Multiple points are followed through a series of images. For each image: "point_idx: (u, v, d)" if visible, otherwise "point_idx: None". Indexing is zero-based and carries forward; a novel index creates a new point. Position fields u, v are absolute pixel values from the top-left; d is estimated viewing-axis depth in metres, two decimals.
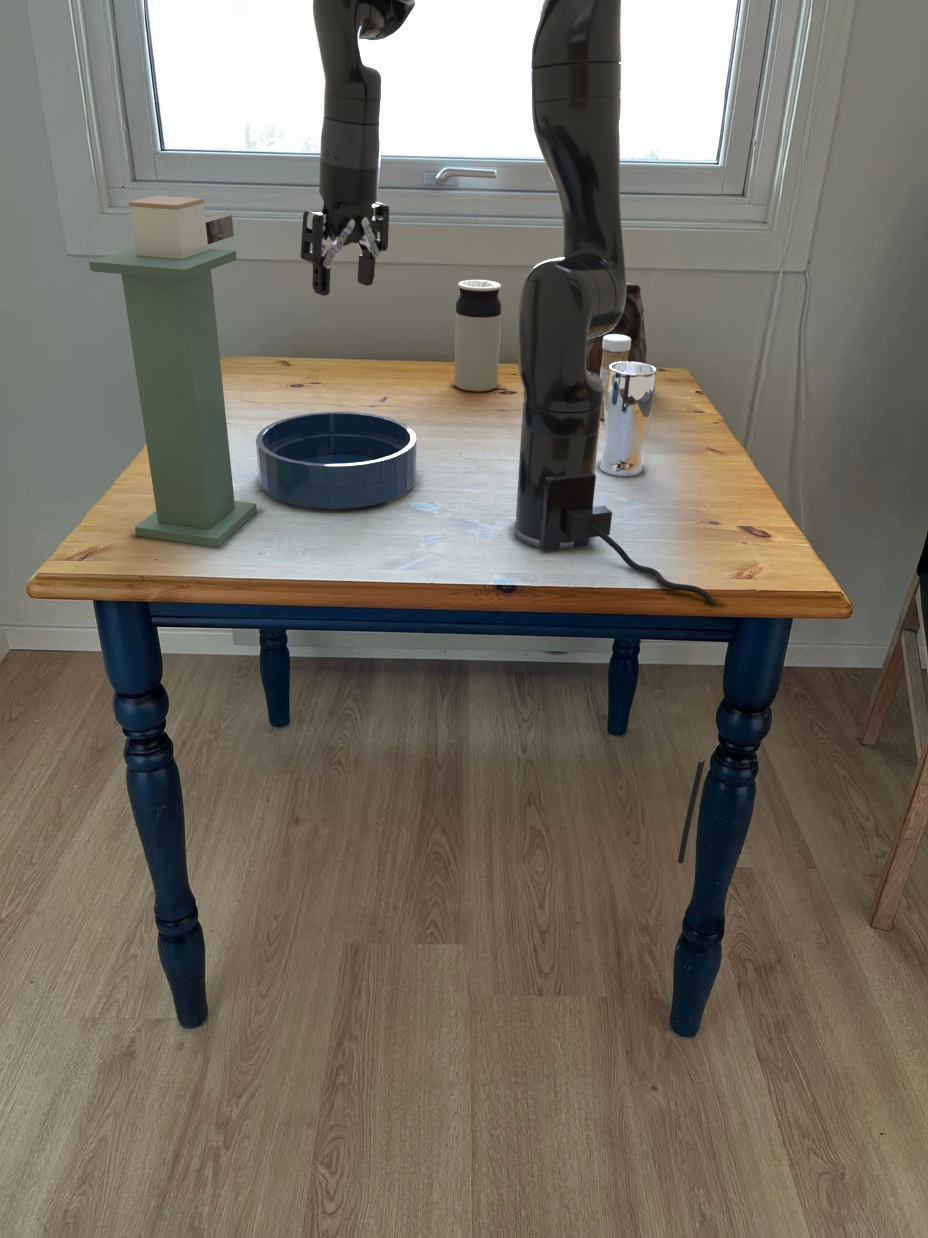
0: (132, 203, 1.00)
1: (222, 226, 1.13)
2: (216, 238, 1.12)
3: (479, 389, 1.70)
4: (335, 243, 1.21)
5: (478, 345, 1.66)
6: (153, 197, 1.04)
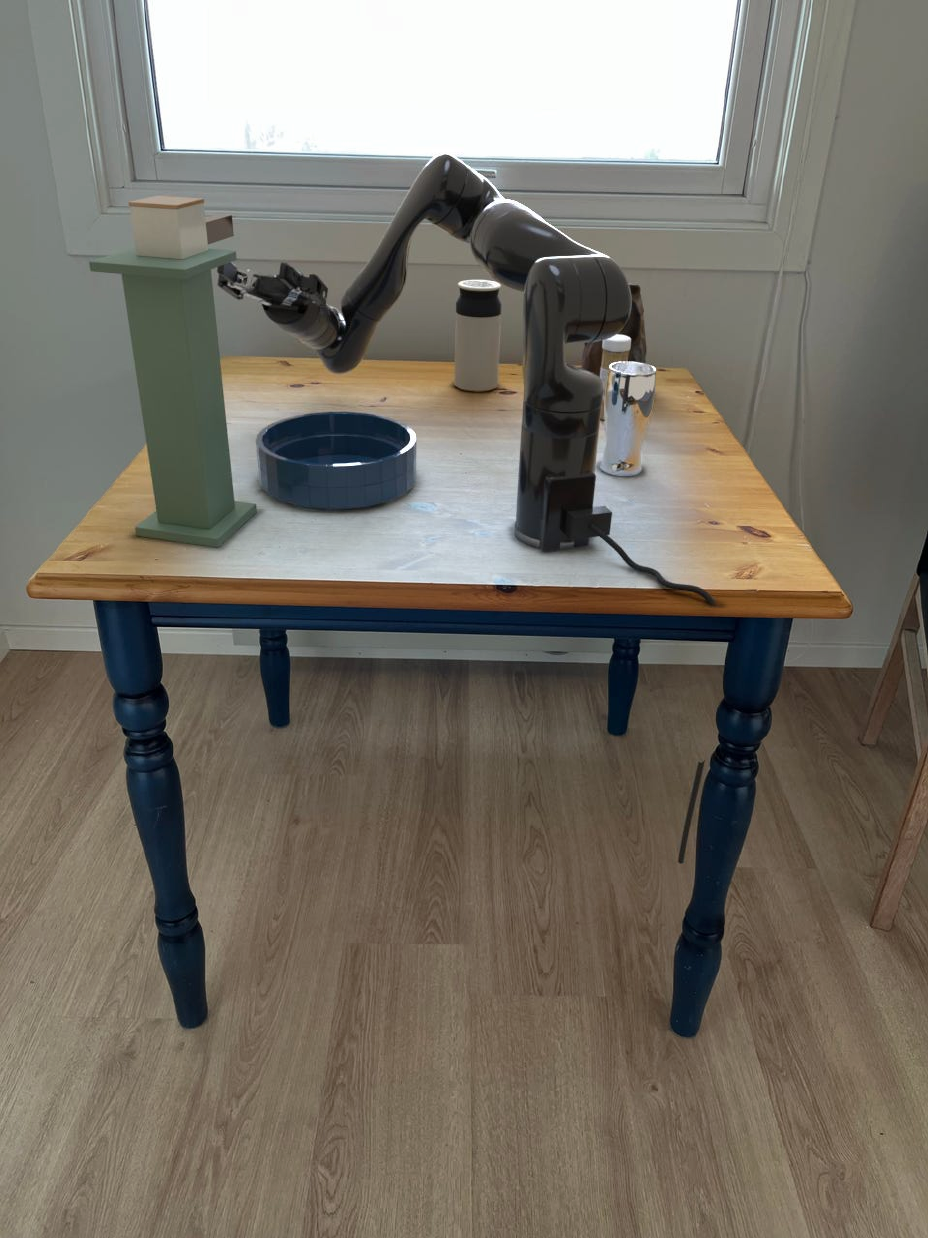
0: (132, 203, 1.00)
1: (222, 226, 1.13)
2: (216, 238, 1.12)
3: (479, 389, 1.70)
4: None
5: (478, 345, 1.66)
6: (153, 197, 1.04)
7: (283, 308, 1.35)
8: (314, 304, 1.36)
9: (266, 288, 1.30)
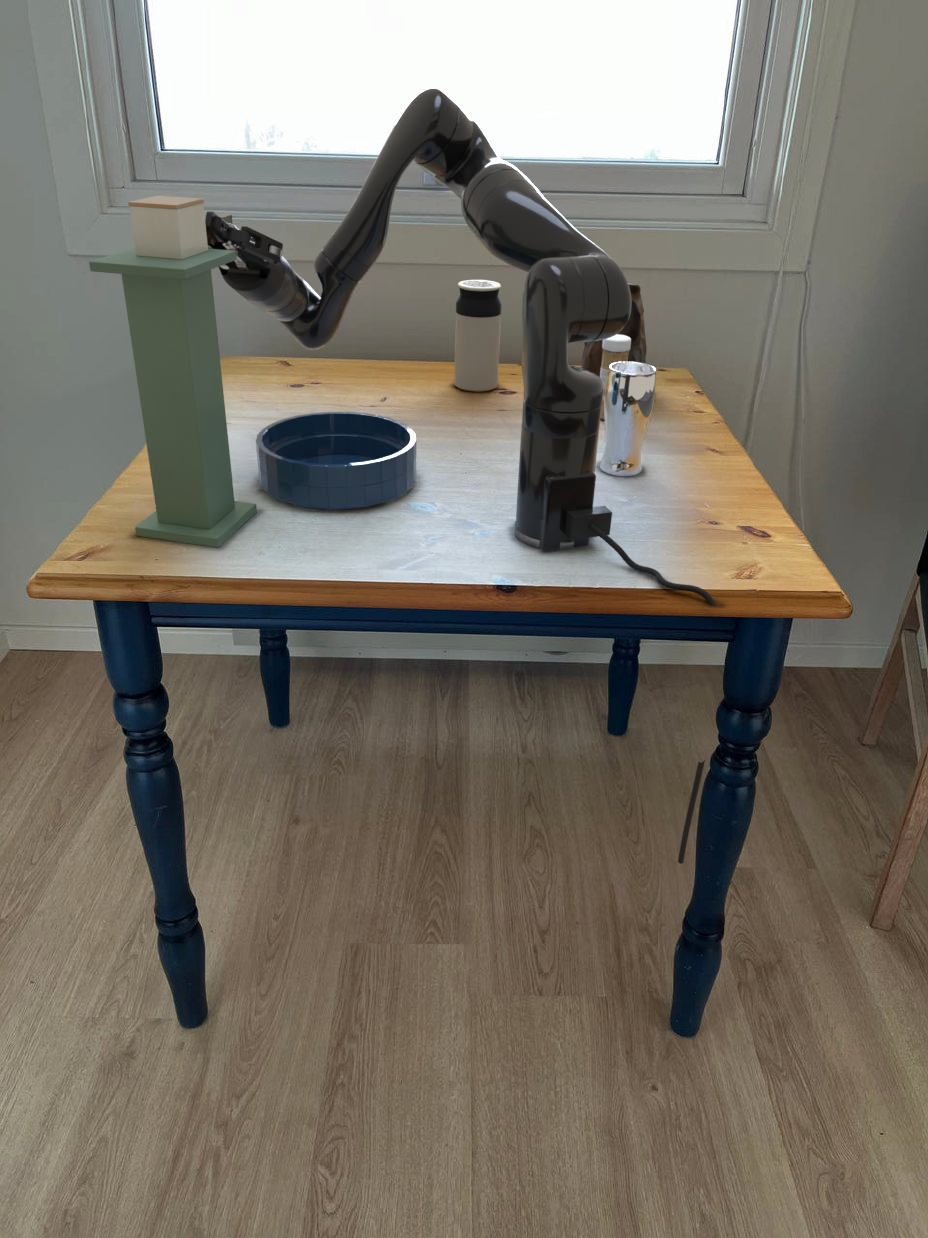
0: (132, 203, 1.00)
1: None
2: None
3: (479, 389, 1.70)
4: None
5: (478, 345, 1.66)
6: (153, 197, 1.04)
7: (243, 273, 1.21)
8: (277, 268, 1.22)
9: (222, 249, 1.16)
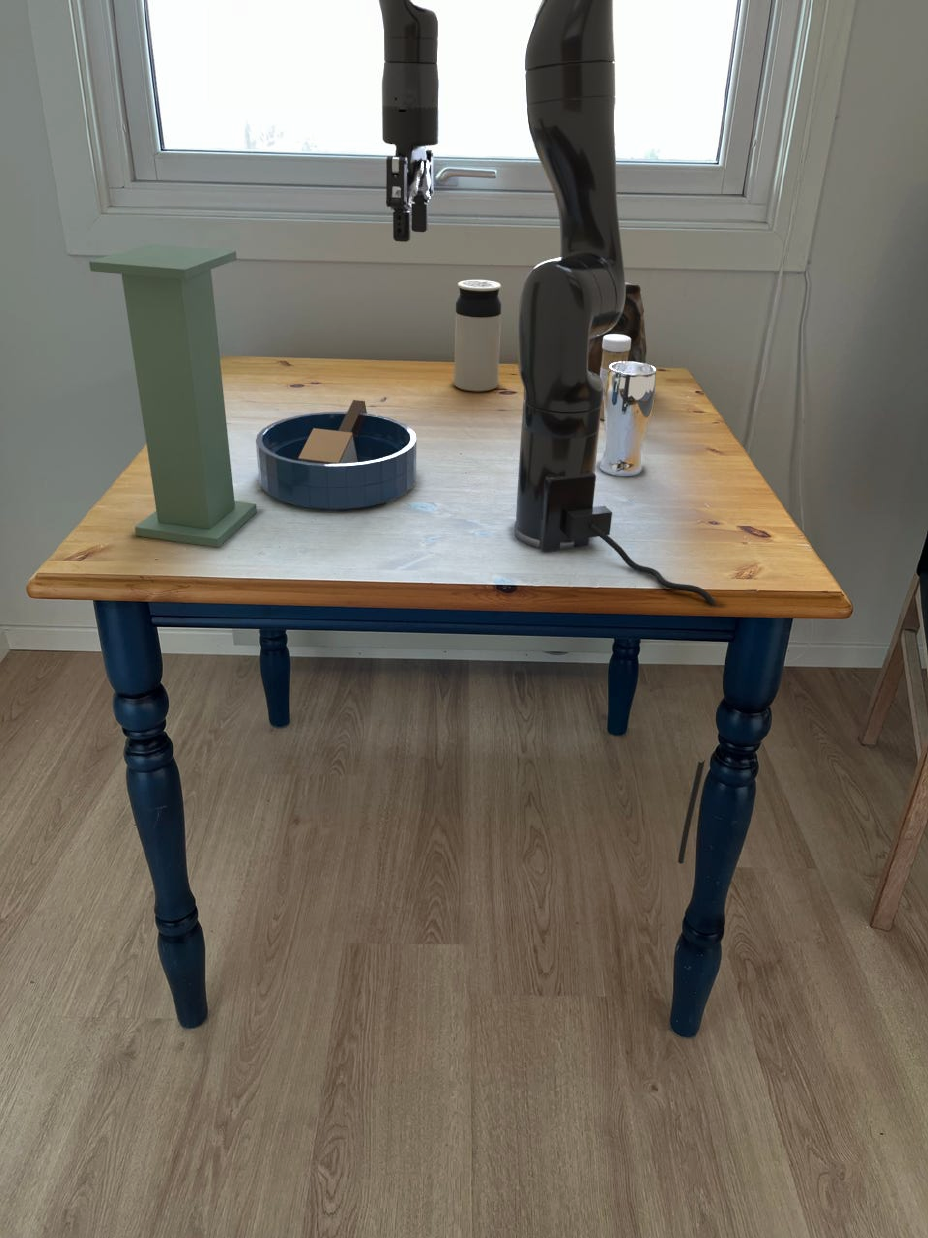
0: (301, 459, 1.25)
1: (360, 418, 1.35)
2: (357, 432, 1.35)
3: (479, 389, 1.70)
4: None
5: (478, 345, 1.66)
6: (312, 436, 1.27)
7: None
8: (403, 129, 1.21)
9: None
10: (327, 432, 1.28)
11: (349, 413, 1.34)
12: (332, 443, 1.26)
